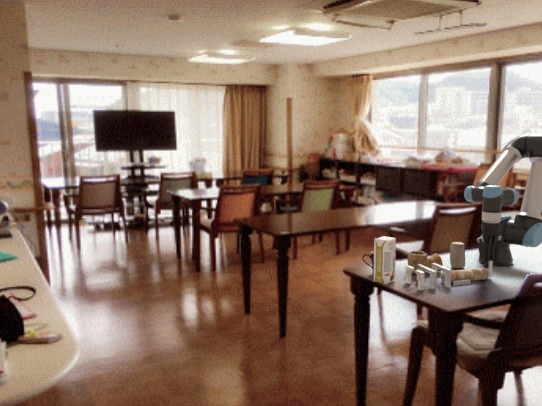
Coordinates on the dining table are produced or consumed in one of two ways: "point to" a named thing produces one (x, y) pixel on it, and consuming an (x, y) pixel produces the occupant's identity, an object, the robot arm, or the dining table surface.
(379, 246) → the juice carton
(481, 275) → the dowel
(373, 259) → the coffee mug
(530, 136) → the robot arm
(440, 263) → the pipe
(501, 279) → the dining table surface
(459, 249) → the carving
